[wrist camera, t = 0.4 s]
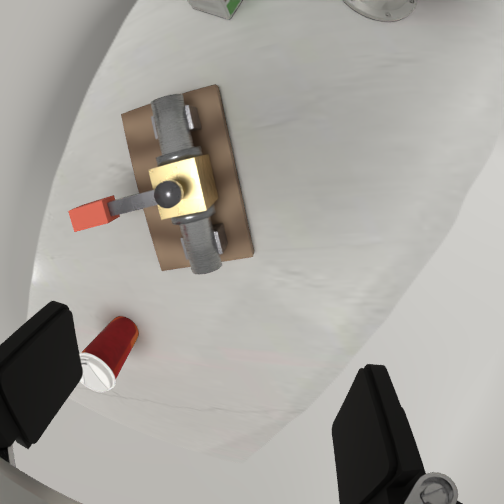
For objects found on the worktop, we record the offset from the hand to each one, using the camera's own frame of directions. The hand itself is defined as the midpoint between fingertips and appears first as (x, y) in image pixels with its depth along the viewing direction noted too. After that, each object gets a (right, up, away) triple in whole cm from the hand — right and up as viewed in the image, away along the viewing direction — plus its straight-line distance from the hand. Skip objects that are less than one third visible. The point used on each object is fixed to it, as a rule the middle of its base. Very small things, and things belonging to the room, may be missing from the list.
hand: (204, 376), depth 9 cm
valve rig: (-8, +14, +34) cm, 37 cm away
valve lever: (-12, +9, +25) cm, 29 cm away
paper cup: (-22, -10, +45) cm, 51 cm away
